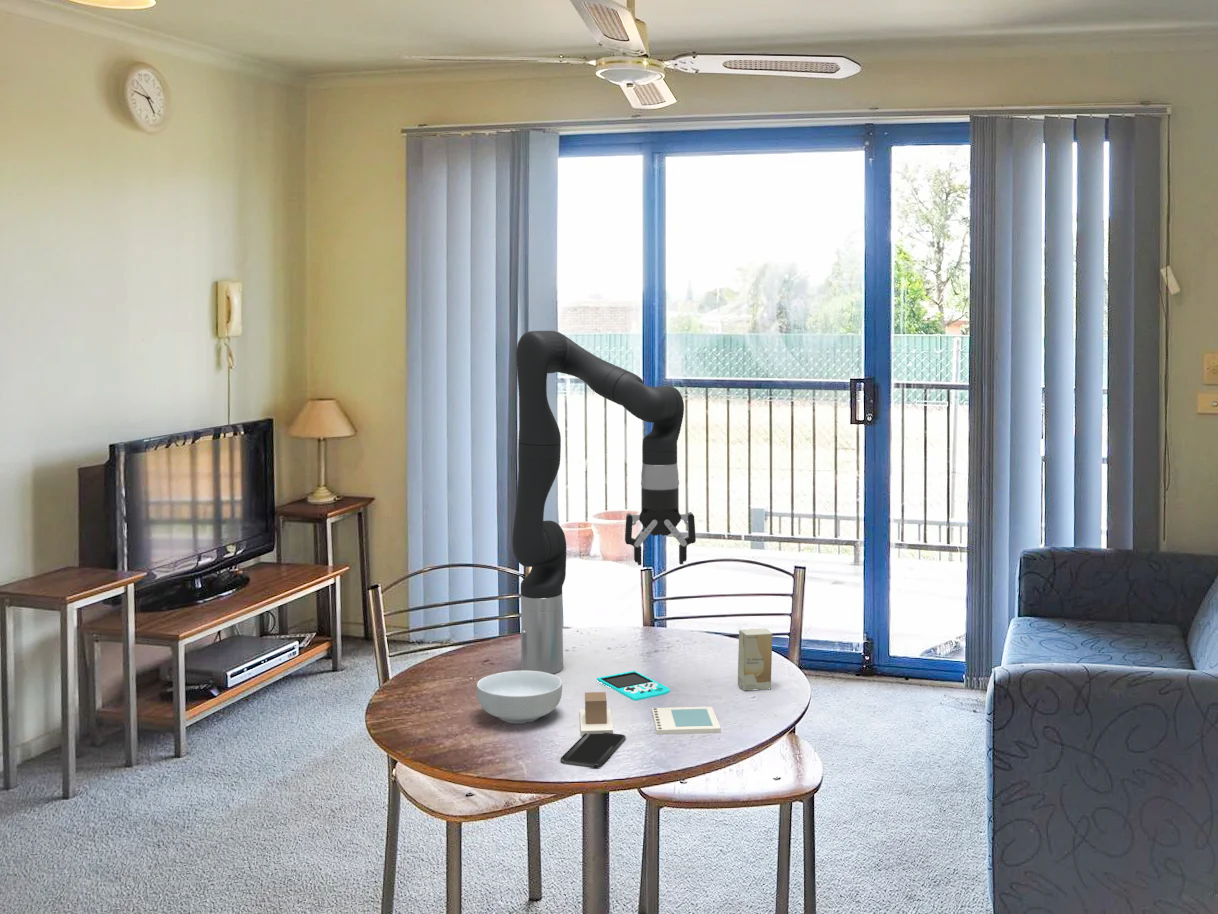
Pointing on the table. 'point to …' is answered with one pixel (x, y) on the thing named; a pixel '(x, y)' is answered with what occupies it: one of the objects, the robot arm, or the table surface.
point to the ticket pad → (685, 720)
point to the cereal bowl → (519, 695)
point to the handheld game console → (634, 685)
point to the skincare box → (754, 659)
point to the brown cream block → (595, 714)
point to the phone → (593, 750)
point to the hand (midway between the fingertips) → (660, 564)
